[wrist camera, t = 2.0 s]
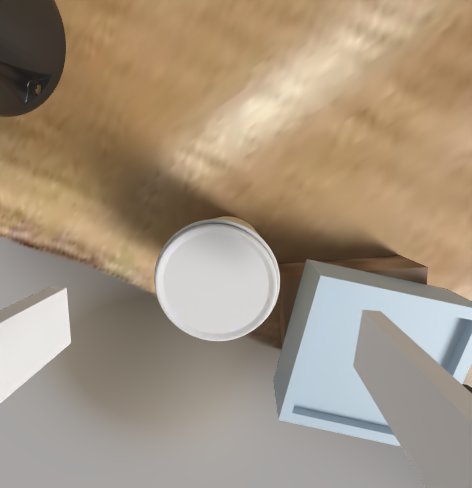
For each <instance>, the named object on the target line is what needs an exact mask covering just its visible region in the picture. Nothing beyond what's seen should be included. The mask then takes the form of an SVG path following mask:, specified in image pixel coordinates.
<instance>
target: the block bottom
mask: <svg viewBox="0 0 472 488" xmlns="http://www.w3.org/2000/svg"><path fill="white" fill-rule="evenodd" d="M318 262H323V263H327V264H332V265H337V266H341V267H346V268H351V269H355V270H360V271H365V272H369V273H374V274H379V275H383V276H388V277H393V278H397V279H402V280H407V281H411V282H416V283H421V284H425V285H427V270H428V267H426V266H424V265H421V264H419V263H417V262H414V261H412V260H410V259H407V258H405V257H403V256H388V257H373V258H359V259H344V260H330V261H318ZM305 263H306V262H301V263H286V264H278V268H279V273H280V289H279V312H280V329H281V347H283V343H284V340H285V336H286V332H287V329H288V325H289V321H290V318H291V314H292V310H293V307H294V303H295V300H296V296H297V292H298V289H299V285H300V281H301V278H302V274H303V271H304V267H305Z"/></svg>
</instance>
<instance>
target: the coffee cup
mask: <svg viewBox="0 0 472 488" xmlns="http://www.w3.org/2000/svg"><path fill="white" fill-rule="evenodd" d="M154 282H155V290H156V293H157V297H158V300H159V303H160V305H161V307H162V309H163V311H164V312H165V314H166V315H167V316H168V318H169V319H170V320H171V321H172V322H173V323H174V324H175V325H176V326H177V327H178V328H180V329H181V330H183V331H184V332H186V333H188V334H190V335H192V336H194V337H197V338H200V339H204V340H210V341H226V340H232V339H236V338H239V337H241V336H244V335H246V334H248V333H249V332H251V331H253V330H254V329H256V328H257V327H258V326H259V325H260V324H262V323H263V322H264V321H265V319H266V318H267V317H268V316H269V314H270V313H271V311H272V310H273V308H274V306H275V304H276V301H277V298H278V294H279V289H280V273H279V268H278V264H277V261H276V258H275V256H274V254H273V252H272V250H271V249H270V247H269V246H268V244H267V243H266V242H265V241H264V240H263V239H262V238H261V237H260V236H259V234H258V233H257V232H256V230H255V229H254V228H253V227H252V226H251V225H250V224H249V223H247V222H246V221H244V220H242V219H239V218H236V217H229V216H224V217H218V218H214V219H209V220H202V221H198V222H195V223H192V224H190V225H188V226H186V227H184V228H182V229H181V230H179V231H178V232H177V233H175V234H174V235H173V236H172V237H171V238H170V239H169V240H168V241H167V243H166V244H165V245H164V247H163V249H162V250H161V252H160V254H159V256H158V259H157V262H156V267H155V275H154Z"/></svg>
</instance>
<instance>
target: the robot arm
mask: <svg viewBox="0 0 472 488" xmlns="http://www.w3.org/2000/svg"><path fill="white" fill-rule="evenodd" d="M65 54H66V41H65V32H64V27H63V22H62V19H61V16H60V13H59V10H58V8H57V5H56V3H55V1H54V0H0V116H4V117H9V116H18V115H22V114H25V113H28V112H30V111H32V110H34V109H36V108H37V107H39V106H40V105H41V104H43V103H44V102H45V101H46V100H47V99H48V98H49V96H50V95H51V94H52V93H53V91H54V89H55V88H56V86H57V84H58V82H59V80H60V77H61V74H62V71H63V68H64V62H65ZM39 84H40V85H41V92H40V94H39V95H37V94H36V91H35V90H36V89H37V85H39ZM70 343H71V338H70V326H69V314H68V301H67V288H63V287H48V288H46V289H44V290H42V291H40V292H38V293H35V294H33V295H31V296H29V297H27V298H25V299H23V300H21V301H19V302H17V303H15V304H13V305H10V306H9V307H6V308H4V309H2V310H0V403H1V402H2V401H4V400H5V399H6V398H7V397H8V396H9V395H10V394H12V393H13V392H14V391H15V390H16V389H18V388H19V387H20V386H21V385H22V384H23V383H25V382H26V381H27V380H28V379H29V378H30V377H32V376H33V375H34V374H35V373H36V372H37V371H39V370H40V369H41V368H42V367H43V366H44V365H45V364H47V363H48V362H49V361H50V360H52V359H53V358H54V357H55V356H56V355H57V354H58V353H60V352H61V351H62V350H63V349H64V348H66V347H67V346H68V345H69V344H70ZM353 367H354V368H355V370H356V372H357V373H358V375H359V377H360V378H361V380H362V382H363V383H364V385H365V387H366V388H367V390H368V392H369V393H370V395H371V397H372V398H373V400H374V402H375V403H376V405H377V407H378V408H379V410H380V412H381V413H382V415H383V417H384V418H385V420H386V422H387V423H388V425H389V427H390V428H391V430H392V432H393V433H394V435H395V437H396V438H397V440H398V442H399V443H400V445H401V447H402V448H403V450H404V452H405V453H406V455H407V457H408V458H409V460H410V462H411V463H412V465H413V467H414V468H415V470H416V472H417V473H418V475H419V477H420V478H421V480H422V482H423V483H424V485H425V487H426V488H472V388H471V387H470V386H468V385H464V384H461V383H460V382H459V381H457V380H456V379H455V378H454V377H453V376H452V375H451V374H450V373H449V372H447V371H446V370H445V369H444V368H443V367H442V366H441V365H440V364H439V363H438V362H436V361H435V360H434V359H433V358H432V357H431V356H430V355H429V354H428V353H426V352H425V351H424V350H423V349H422V348H421V347H420V346H419V345H418V344H416V343H415V342H414V341H413V340H412V339H411V338H410V337H409V336H408V335H407V334H405V333H404V332H403V331H402V330H401V329H400V328H399V327H398V326H397V325H395V324H394V323H393V322H392V321H391V320H390V319H389V318H388V317H387V316H386V315H384V314H383V313H382V312H381V311H373V310H362V316H361V322H360V328H359V334H358V340H357V345H356V351H355V357H354V363H353Z"/></svg>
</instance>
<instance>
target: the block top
mask: <svg viewBox="0 0 472 488" xmlns="http://www.w3.org/2000/svg"><path fill="white" fill-rule="evenodd" d="M362 310H373V311H381V312H382V313H383V314H384V315H386V316H387V317H388V318H389V319H390V320H391V321H392V322H393V323H394V324H395V325H397V326H398V327H399V328H400V329H401V330H402V331H403V332H404V333H405V334H407V335H408V336H409V337H410V338H411V339H412V340H413V341H414V342H415V343H416V344H418V345H419V346H420V347H421V348H422V349H423V350H424V351H425V352H426V353H428V354H429V355H430V356H431V357H432V358H433V359H434V360H435V361H436V362H438V363H439V364H440V365H441V366H442V367H443V368H444V369H445V370H446V371H447V372H449V373H450V374H451V375H452V376H453V377H454V378H455V379H456V380H457V381H459V382H460V383H461V384H462V383H463V381H464V379H465V377H466V375H467V372H468V370H469V368H470V366H471V364H472V301H470V300H468V299H466V298H464V297H462V296H460V295H458V294H456V293H454V292H452V291H450V290H448V289H444V288H440V287H435V286H430V285H425V284H421V283H416V282H411V281H407V280H402V279H397V278H393V277H388V276H383V275H379V274H374V273H369V272H365V271H360V270H355V269H351V268H346V267H341V266H337V265H332V264H327V263H323V262H318V261H313V260H309V259H307V260H306V263H305V267H304V271H303V274H302V278H301V281H300V285H299V289H298V292H297V296H296V300H295V303H294V307H293V310H292V314H291V318H290V321H289V325H288V329H287V332H286V336H285V340H284V343H283V347H282V350H281V354H280V358H279V361H278V365H277V369H276V372H275V376H274V380H273V381H274V389H275V397H276V404H277V412H278V419H279V420H282V421H286V422H291V423H296V424H300V425H305V426H310V427H314V428H319V429H323V430H328V431H332V432H337V433H341V434H346V435H351V436H356V437H360V438H365V439H369V440H373V441H378V442H383V443H387V444H392V445H396V446H401V445H400V443H399V442H398V440H397V438H396V437H395V435H394V433H393V432H392V430H391V428H390V427H389V425H388V423H387V422H386V420H385V418H384V417H383V415H382V413H381V412H380V410H379V408H378V407H377V405H376V403H375V402H374V400H373V398H372V397H371V395H370V393H369V392H368V390H367V388H366V387H365V385H364V383H363V382H362V380H361V378H360V377H359V375H358V373H357V372H356V370H355V368H354V367H353V363H354V357H355V351H356V345H357V340H358V334H359V328H360V322H361V316H362Z"/></svg>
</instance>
